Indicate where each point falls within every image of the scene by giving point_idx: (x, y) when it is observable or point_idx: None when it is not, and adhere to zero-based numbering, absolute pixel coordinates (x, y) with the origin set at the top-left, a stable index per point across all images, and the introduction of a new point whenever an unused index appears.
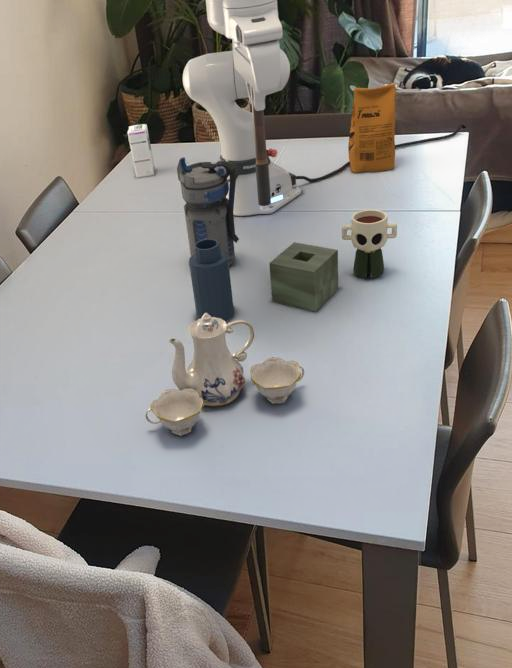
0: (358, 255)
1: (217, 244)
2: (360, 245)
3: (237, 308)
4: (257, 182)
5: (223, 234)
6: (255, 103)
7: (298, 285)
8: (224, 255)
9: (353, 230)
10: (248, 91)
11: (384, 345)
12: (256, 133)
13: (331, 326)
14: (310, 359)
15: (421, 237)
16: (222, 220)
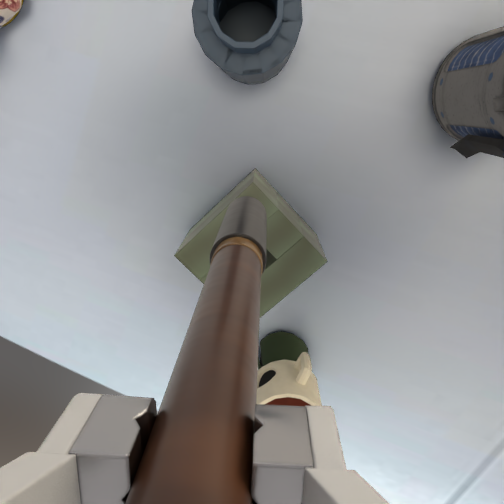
0: (278, 355)
1: (228, 40)
2: (265, 370)
3: (258, 94)
4: (235, 214)
5: (468, 116)
6: (52, 437)
7: (206, 220)
8: (242, 65)
9: (281, 379)
10: (330, 494)
11: (59, 291)
12: (200, 302)
13: (135, 238)
14: (47, 174)
15: (359, 463)
16: (488, 118)
